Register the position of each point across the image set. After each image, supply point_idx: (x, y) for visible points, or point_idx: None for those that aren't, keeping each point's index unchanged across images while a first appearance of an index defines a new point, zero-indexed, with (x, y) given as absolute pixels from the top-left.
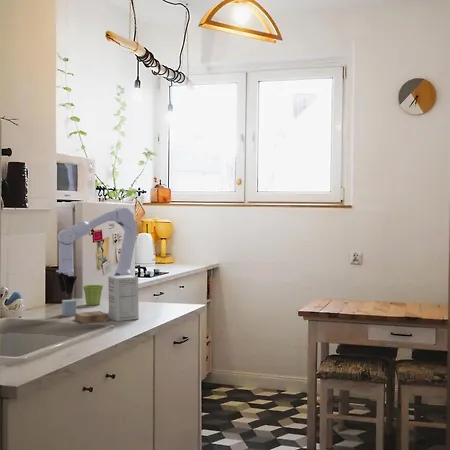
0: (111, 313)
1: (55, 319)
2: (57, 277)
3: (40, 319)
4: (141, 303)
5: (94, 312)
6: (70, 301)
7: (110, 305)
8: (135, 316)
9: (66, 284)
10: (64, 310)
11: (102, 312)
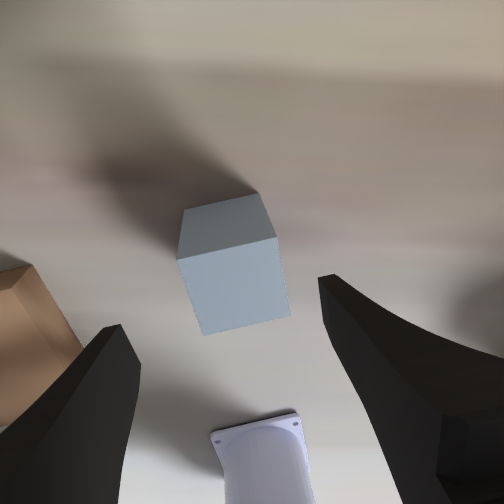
0: None
1: (37, 138)
2: (462, 378)
3: (44, 3)
4: None
5: (29, 386)
6: (190, 299)
7: None
8: None
9: (20, 429)
10: (195, 222)
11: None
